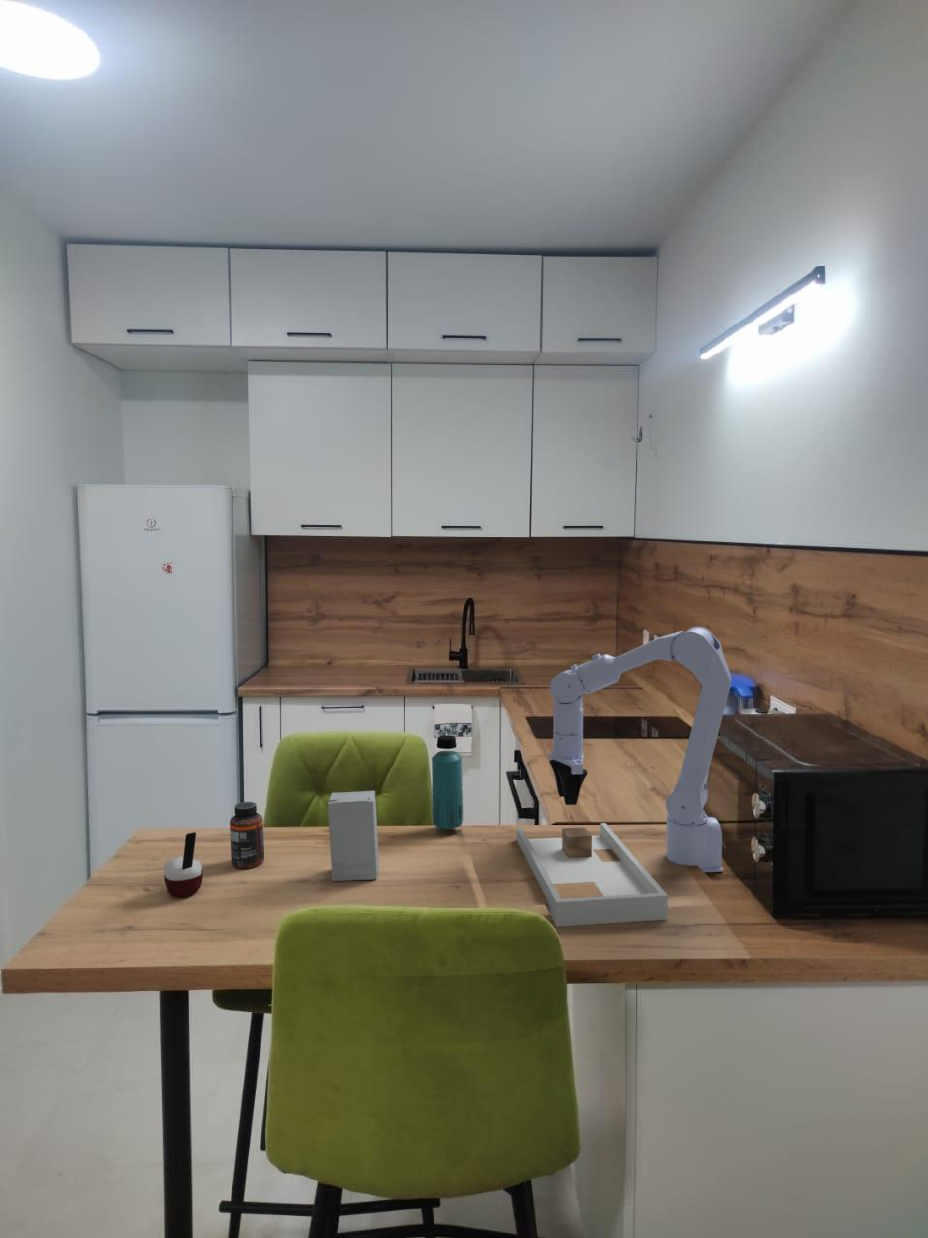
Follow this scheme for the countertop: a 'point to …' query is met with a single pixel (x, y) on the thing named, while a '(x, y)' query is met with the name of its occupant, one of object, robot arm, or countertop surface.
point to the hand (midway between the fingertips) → (567, 800)
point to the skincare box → (353, 836)
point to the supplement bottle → (246, 836)
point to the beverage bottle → (447, 785)
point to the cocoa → (184, 871)
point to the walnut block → (576, 842)
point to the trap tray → (619, 882)
